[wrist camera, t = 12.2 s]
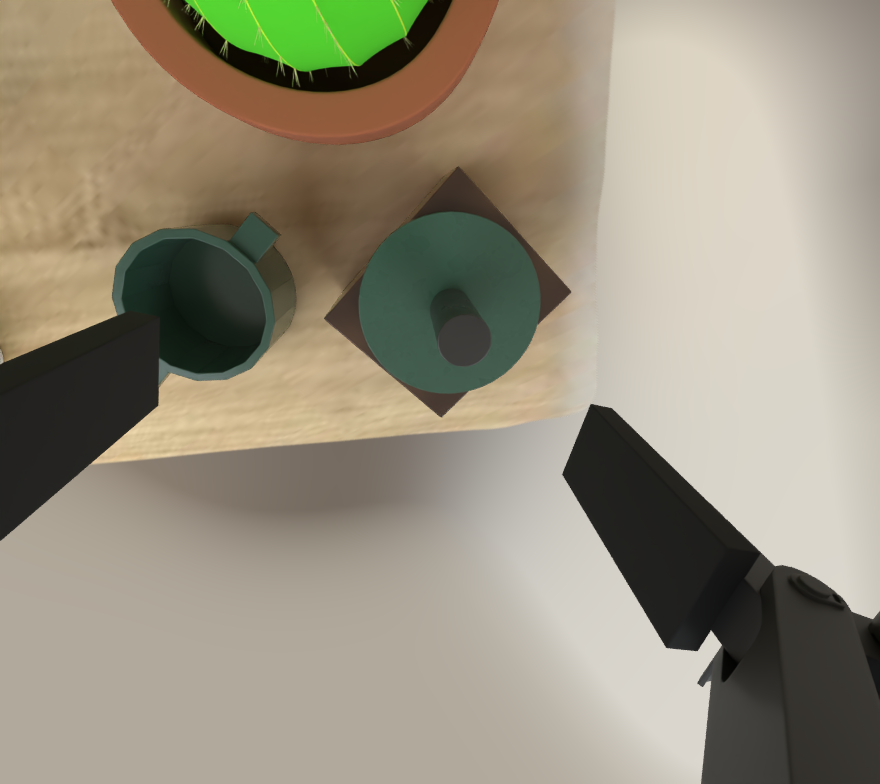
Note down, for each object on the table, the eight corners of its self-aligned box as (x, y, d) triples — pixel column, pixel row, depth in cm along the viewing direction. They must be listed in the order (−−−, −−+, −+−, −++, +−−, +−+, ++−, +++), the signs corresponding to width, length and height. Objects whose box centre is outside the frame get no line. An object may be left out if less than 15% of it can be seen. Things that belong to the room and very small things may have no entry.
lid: (322, 310, 33) (293, 347, 24) (448, 166, 30) (465, 152, 21) (450, 418, 37) (463, 483, 28) (571, 302, 34) (627, 335, 25)
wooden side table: (342, 291, 43) (323, 318, 33) (444, 175, 40) (458, 165, 30) (433, 371, 47) (441, 418, 37) (533, 271, 43) (572, 292, 33)
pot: (124, 314, 42) (64, 338, 35) (231, 169, 38) (190, 160, 31) (232, 392, 46) (199, 428, 39) (340, 267, 42) (326, 280, 35)
